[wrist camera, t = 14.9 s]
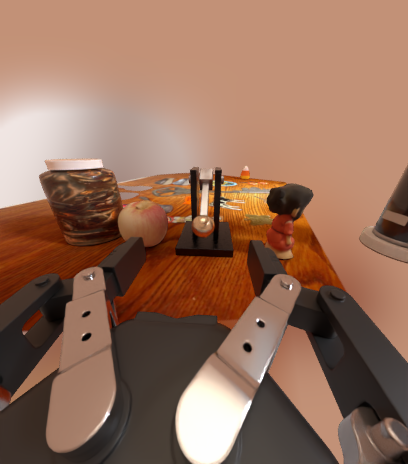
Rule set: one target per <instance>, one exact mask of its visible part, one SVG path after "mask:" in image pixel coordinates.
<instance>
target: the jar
mask: <svg viewBox="0 0 408 464" xmlns="http://www.w3.org/2000/svg"><path fill="white" fill-rule="evenodd" d="M45 163H46V165H47V167H48V169H49V170H50V171H47V172H44V173H42V174H41V175H39V178H40V182H41V185H42V188H43V190H44V193H45V195H46V197H47V200H48V202H49V204H50V207H51V209H52V211H53V214H54V216H55V218H56V221H57V223H58V225H59V227H60V229H61V232H62V234H63V236H64V238H65V240H66V242H67V243H69V244H71V245H77V246H87V245H95V244H100V243H104V242H108V241H111V240H113V239H116V238H118V237H120V236H121V234H120V231H119V227H118V217H119V214H120V212H121V211H122V209H123V205H122V201H121V197H120V193H119V189H118V185H117V181H116V178H115V175H114V173H113V171H111V170H108V169H105V168H102V167H104V166H103V164H102V160H101V159H56V160H45Z"/></svg>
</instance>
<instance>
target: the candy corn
mask: <svg viewBox="0 0 408 464" xmlns="http://www.w3.org/2000/svg"><path fill="white" fill-rule="evenodd" d="M240 178H242V179H248V178H250V173H249V169H248V167H247V166H245V167H244V169H243V170H242V173H241V176H240Z"/></svg>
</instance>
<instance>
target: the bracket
mask: <svg viewBox="0 0 408 464" xmlns="http://www.w3.org/2000/svg"><path fill="white" fill-rule="evenodd" d="M221 173H222V170H221V168H218V167H216V168H215V192H214V231H213V233H212V234H211V235H210V236H208V237H205V238H201V237H198V236H196V235H195V234H194V232H193V230H192V222H193V220H194V219H195V218H196V217H197V216H199V168H198V167H194V168H192V169H191V170H190V175H189V183H190V184H191V211H192V221H186V223H185V226H184V228H183V231H182V233H181V236H180V238H179V241H178V243H177V245H176V248H175V250H176V255H189V256H215V257H233V251H234V250H233V245H232V239H231V234H230V229H229V223H228V222H219V216H220V195H221V184H223V183H224V176H221Z"/></svg>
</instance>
